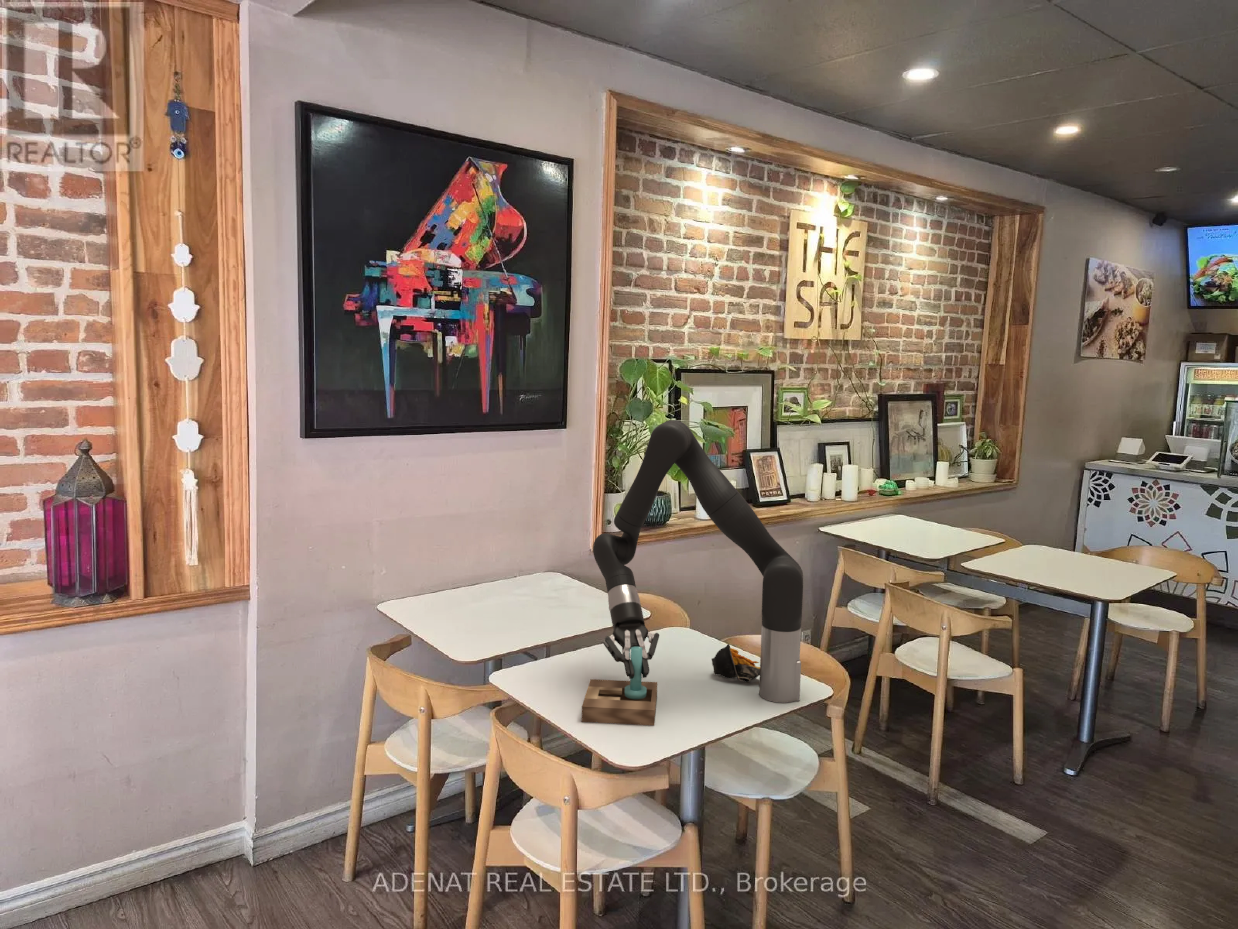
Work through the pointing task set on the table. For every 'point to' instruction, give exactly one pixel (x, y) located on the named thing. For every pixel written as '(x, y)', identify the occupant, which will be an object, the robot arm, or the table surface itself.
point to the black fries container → (734, 665)
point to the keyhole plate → (618, 703)
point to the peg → (636, 676)
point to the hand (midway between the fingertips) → (638, 676)
